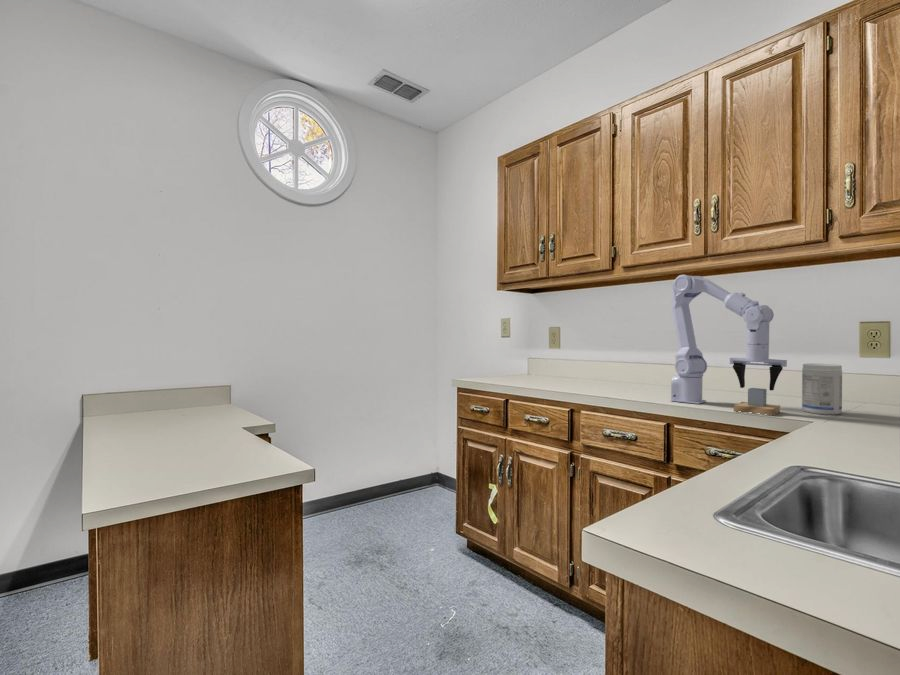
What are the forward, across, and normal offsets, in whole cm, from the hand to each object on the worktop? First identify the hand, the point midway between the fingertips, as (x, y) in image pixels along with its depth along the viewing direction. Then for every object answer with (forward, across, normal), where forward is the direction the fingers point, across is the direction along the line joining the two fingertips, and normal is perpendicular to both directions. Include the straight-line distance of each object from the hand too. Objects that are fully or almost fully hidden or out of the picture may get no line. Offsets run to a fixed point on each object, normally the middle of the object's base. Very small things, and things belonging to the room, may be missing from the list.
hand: (756, 388), depth 142 cm
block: (+5, 0, 0) cm, 5 cm away
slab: (+7, 0, 0) cm, 7 cm away
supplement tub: (+7, -14, -13) cm, 21 cm away
